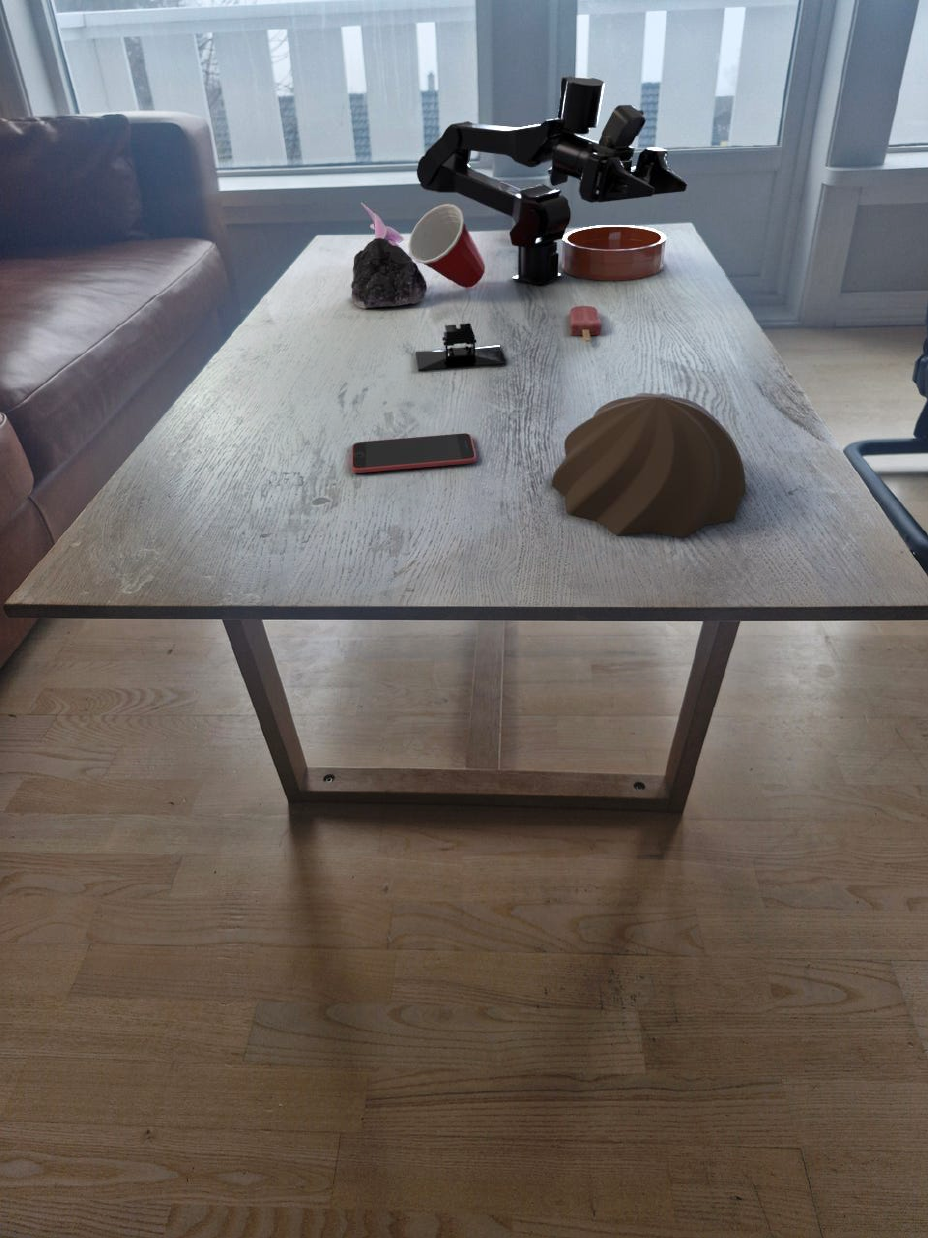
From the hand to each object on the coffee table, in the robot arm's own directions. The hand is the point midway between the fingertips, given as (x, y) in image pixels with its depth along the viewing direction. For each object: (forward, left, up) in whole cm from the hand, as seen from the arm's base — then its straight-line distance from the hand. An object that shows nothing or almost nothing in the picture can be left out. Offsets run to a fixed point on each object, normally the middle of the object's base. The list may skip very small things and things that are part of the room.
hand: (669, 189), depth 118 cm
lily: (-59, -2, -17) cm, 62 cm away
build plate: (-11, -36, -17) cm, 42 cm away
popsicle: (-3, -16, -17) cm, 24 cm away
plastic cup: (-33, -7, -15) cm, 37 cm away
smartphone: (+4, -62, -17) cm, 64 cm away
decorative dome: (+29, -53, -17) cm, 63 cm away
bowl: (-18, +16, -17) cm, 30 cm away
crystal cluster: (-40, -21, -17) cm, 49 cm away
